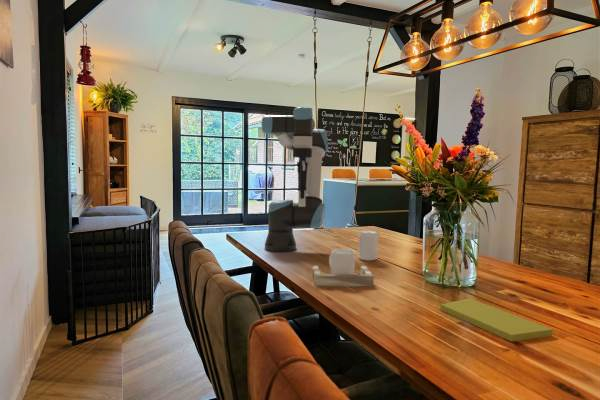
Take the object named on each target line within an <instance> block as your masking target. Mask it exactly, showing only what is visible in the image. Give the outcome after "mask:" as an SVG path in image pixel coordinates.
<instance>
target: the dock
mask: <svg viewBox="0 0 600 400" xmlns="http://www.w3.org/2000/svg"><path fill="white" fill-rule="evenodd" d="M312 278H313V282H314V286H315V287H374V279H375V278H374V275H373V274H372V272H371V271H370V270H369V268H368V267H367V266H366V265H360V273H358V274H357V273H356V274H355V273H354V274H331V273H329V274H324V273H323V274H322V273H321V272H320V268H319V266H318V265H312Z"/></svg>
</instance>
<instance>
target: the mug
mask: <svg viewBox="0 0 600 400" xmlns="http://www.w3.org/2000/svg"><path fill="white" fill-rule="evenodd" d="M355 257H356V252H355V250H353V249H349V248H334V249H332V250H331V253H330V255H329V257H328V265H329V268H330V274H355V267H356V266H355V264H356V258H355Z"/></svg>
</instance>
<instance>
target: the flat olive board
mask: <svg viewBox="0 0 600 400" xmlns="http://www.w3.org/2000/svg"><path fill="white" fill-rule="evenodd" d="M439 308H440V309H439V310H440V311H442V312H444V313H445V314H448V315H449V316H450V315H451V316H452V317H455V318H458V319H459V320H462V321H464V322H466V323H468V324H471V325H473V326H474V327H475V326H476V327H477V328H480V329H482V330H484V331H487V332H489V333H491V334H493V335H495V336H498V337H500V338H502V339H505V340H506V341H509V342H518V341H526V340H533V339H540V338H546V337H547V338H548V337H553V332H554V329H553V328H551V327H547V326H544V325H542V324H541V323H538V322H537V323H536V322H534V321H532V320H529V319H526V318H524V317H521V316H518V315H515V314H512V313H511V312H508V311H506V310H502V309H500V308H497V307H494V306H492V305H489V304H486V303H483V302H481V301H479V300H476V299H473V298H465V299H461V300H455V301H452V302H451V301H450V302H446V303H440V307H439Z"/></svg>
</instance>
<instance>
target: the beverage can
mask: <svg viewBox="0 0 600 400" xmlns="http://www.w3.org/2000/svg"><path fill="white" fill-rule="evenodd" d="M359 231H360V232H359V234H358V251H357V252H358V253H357V255H358V256H357V257H358V258H359V260H361V261H366V262H371V261H375V260H377V259H378V248H379V247H378V246H379V245H378V244H379V242H378V241H379V235H378V232H377V231H376V230H370V229H369V230H365V229H364V230H359Z"/></svg>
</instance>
